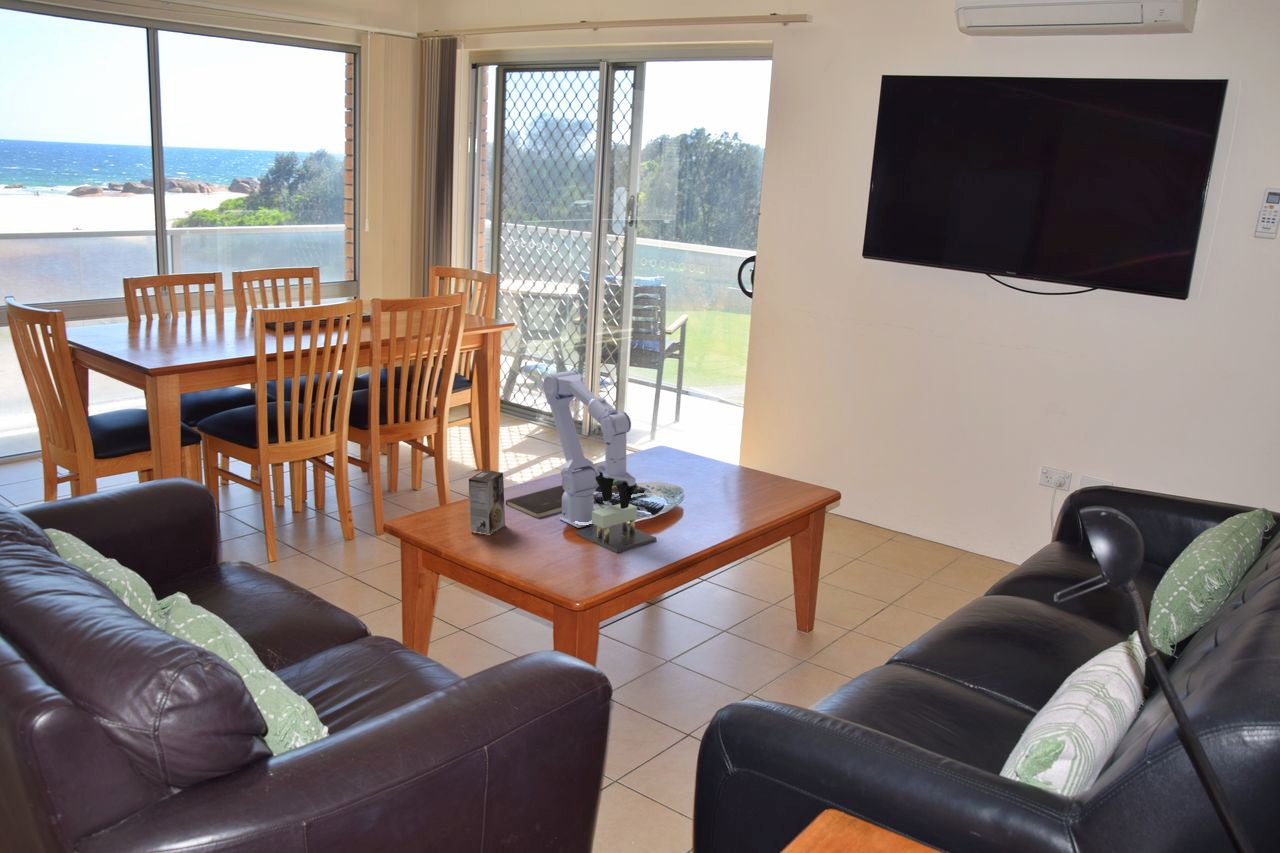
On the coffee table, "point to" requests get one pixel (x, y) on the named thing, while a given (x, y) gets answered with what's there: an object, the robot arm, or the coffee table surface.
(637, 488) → the disk drive
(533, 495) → the hardcover book
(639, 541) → the plate
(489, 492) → the coffee box
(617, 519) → the pale green block
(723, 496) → the coffee table surface
